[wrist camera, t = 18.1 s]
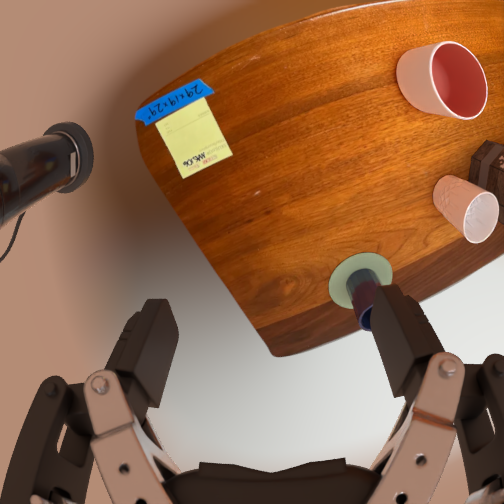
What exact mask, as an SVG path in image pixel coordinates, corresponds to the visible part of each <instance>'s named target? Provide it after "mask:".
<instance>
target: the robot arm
mask: <svg viewBox="0 0 504 504" xmlns="http://www.w3.org/2000/svg"><path fill="white" fill-rule="evenodd" d="M81 161H82V159H81V151H80V148H79V145H78V143H77V141H76V140H75V138H74V137H73V136H72V135H71V134H69V133H68V132H65V131H57V132H53V133H51V134H48V135H45V136H41V137H38V138H35V139H32V140H29V141H26V142H23V143H21V144H18V145H15V146H12V147H10V148H7V149H5V150H2V151H0V229H1V228H3V227H4V226H5V225H7V224H8V223H9V222H11V221H12V220H13V219H15V218H16V217H18V216H19V215H20V216H19V218H18V221H17V224H16V227H15V230H14V233H13V236H12V239H11V241H10V244H9V246H8V248H7V250H6V251H5V253H4V254H3V255H2V257H1V258H0V262H1V261H2V260H3V259H4V258H5V256H6V255H7V254H8V252H9V251H10V249H11V247H12V245H13V243H14V240H15V238H16V235H17V232H18V229H19V226H20V223H21V220H22V218H23V216H24V214H25V212H26V211H27V210H28V209H30V208H31V207H33V206H34V205H36V204H37V203H39V202H40V201H42V200H43V199H45V198H47V197H48V196H50V195H52V194H53V193H55V192H57V191H58V190H60V189H62V188H63V187H66V186H68V185H70V184H72V183H73V182H74V181H75V180H76V178H77V177H78V175H79V172H80V169H81ZM428 321H429V320H428V319H427V317H426V315H424V312H423V310H422V308H421V307H420V305H419V303H418V302H416V301H415V300H414V299H413V298H412V297H410V296H409V295H407V296H404V295H403V293H402V292H401V290H400V288H399V286H398V285H397V284H389V285H380V286H377V288H376V291H375V296H374V301H373V306H372V311H371V316H370V326H371V331H372V334H373V336H374V339H375V342H376V344H377V347H378V350H379V353H380V356H381V359H382V362H383V365H384V367H385V371H386V374H387V377H388V380H389V383H390V386H391V389H392V392H393V396H394V398H396V397H400V396H404V397H405V400H406V402H405V404H404V406H403V408H402V410H401V413H400V415H399V417H398V419H397V421H396V424H395V426H394V428H393V430H392V432H391V434H390V436H389V438H388V440H387V442H386V444H385V445H384V447H383V449H382V450H381V452H380V453H379V454H378V456H377V457H376V459H375V461H374V462H373V464H372V465H371V467H370V469H367V468H364V467H361V466H356V465H350V464H346V460H345V458H340V459H333V460H325V461H317V462H309V463H306V464H303V465H300V466H296V467H293V468H289V469H286V470H282V471H278V472H273V473H269V472H264V471H259V470H255V469H250V468H246V467H242V466H239V465H234V464H218V463H205V462H200V463H199V469H194V470H190V471H186V472H183V473H181V471H180V470H179V468H178V467H177V465H176V464H175V463H174V461H173V460H172V459H171V458H170V457H169V455H168V454H167V452H166V450H165V448H164V446H163V445H162V443H161V441H160V440H159V437H158V435H157V433H156V431H155V430H154V428H153V426H152V424H151V422H150V420H149V417H148V416H147V414H146V413H147V410H148V407H154V408H159V405H160V402H161V398H162V395H163V391H164V387H165V384H166V380H167V377H168V373H169V370H170V367H171V363H172V359H173V356H174V353H175V350H176V346H177V343H178V338H179V332H178V327H177V324H176V321H175V319H174V316H173V313H172V310H171V307H170V305H169V302H168V300H167V299H148V300H147V301H146V302H145V304H144V306H143V308H142V310H141V312H136V313H135V314H134V315H133V316H132V317H131V318H130V319H129V320H128V321H127V323H126V325H125V327H124V329H123V332H122V334H121V335H120V337H119V340H118V341H117V343H116V345H115V347H114V349H113V352H112V354H111V356H110V358H109V360H108V362H107V364H106V366H105V368H104V370H99V371H96V372H94V373H93V374H91V375H90V376H89V377H88V378H87V380H86V382H85V383H78V384H70V385H68V384H67V383H66V382H65V380H64V379H62V377H60V376H51V377H49V378H47V379H45V380H44V381H43V382H42V384H41V385H40V387H39V389H38V391H37V394H36V396H35V398H34V400H33V403H32V405H31V407H30V409H29V412H28V414H27V417H26V419H25V421H24V424H23V426H22V429H21V432H20V434H19V437H18V440H17V443H16V445H15V448H14V451H13V454H12V457H11V460H10V464H9V467H8V470H7V474H6V478H5V482H4V485H3V490H2V494H1V498H0V504H84V503H85V498H86V492H87V488H88V483H89V478H90V474H91V470H92V466H93V461H94V458H95V460H96V463H97V466H98V469H99V472H100V474H101V477H102V479H103V482H104V484H105V487H106V489H107V492H108V494H109V496H110V498H111V500H112V503H113V504H428V503H429V501H430V499H431V497H432V495H433V493H434V491H435V489H436V487H437V484H438V482H439V480H440V478H441V475H442V473H443V470H444V468H445V465H446V462H447V460H448V457H449V455H450V451H451V449H452V446H453V443H454V440H455V437H456V433H457V436H458V440H459V444H460V448H461V452H462V457H463V462H464V466H465V472H466V477H467V483H468V489H469V497H468V498H467V500H466V501H465V503H464V504H504V356H502V355H500V354H491V355H489V356H488V357H487V358H486V359H485V361H484V362H483V364H463V362H462V361H461V359H460V358H459V357H457V356H456V355H454V354H452V353H449V352H445V350H444V348H443V346H442V344H441V342H440V340H439V339H438V337H437V335H436V333H435V331H434V329H433V328H432V326H431V324H430V323H429V322H428ZM487 408H488V409H489V412H490V415H491V418H492V421H493V424H494V427H495V434H494V431H493V428H492V425H491V422H490V419H489V416H488V413H487V410H486V409H487ZM453 422H454V425H453ZM64 424H65V425H66V426H67V430H66V433H65V436H64V439H63V442H62V445H61V448H60V452H59V453H58V451H57V442H58V439H59V436H60V433H61V430H62V428H63V425H64Z"/></svg>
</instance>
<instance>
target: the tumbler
mask: <svg viewBox="0 0 504 504" xmlns="http://www.w3.org/2000/svg"><path fill="white" fill-rule="evenodd" d="M380 285H383V284H382V282H381V281H380V279H379V277H378V275H377V274H376V272H375V271H373V270H372V269H368V268H363V269H359V270H357V271H355V272H353V273H352V274H351V275H350V276H349V278H348V279H347V282H346V289H347V292H348V295H349V298H350V300H351V303H352V306H353V309H354V311H355V314H356V317H357V320H358V323H359V325H360V327H361V328H362V329H363V330H365V331H371V326H370V316H371V311H372V306H373V301H374V296H375V291H376V288H377V286H380Z"/></svg>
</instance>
